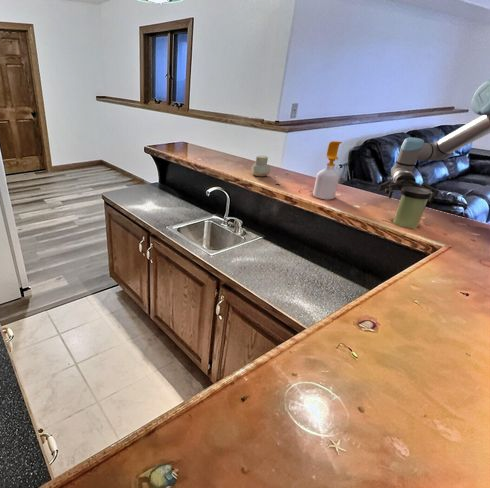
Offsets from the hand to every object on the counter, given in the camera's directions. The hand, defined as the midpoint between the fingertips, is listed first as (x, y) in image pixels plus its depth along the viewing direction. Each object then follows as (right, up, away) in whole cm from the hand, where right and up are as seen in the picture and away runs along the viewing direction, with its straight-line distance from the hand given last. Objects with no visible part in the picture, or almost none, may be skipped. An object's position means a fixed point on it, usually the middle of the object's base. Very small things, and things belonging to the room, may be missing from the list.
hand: (411, 197), depth 134 cm
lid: (-5, +1, -9) cm, 11 cm away
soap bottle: (-23, +3, +23) cm, 33 cm away
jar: (-5, -10, -4) cm, 12 cm away
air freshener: (-44, +19, +53) cm, 72 cm away
